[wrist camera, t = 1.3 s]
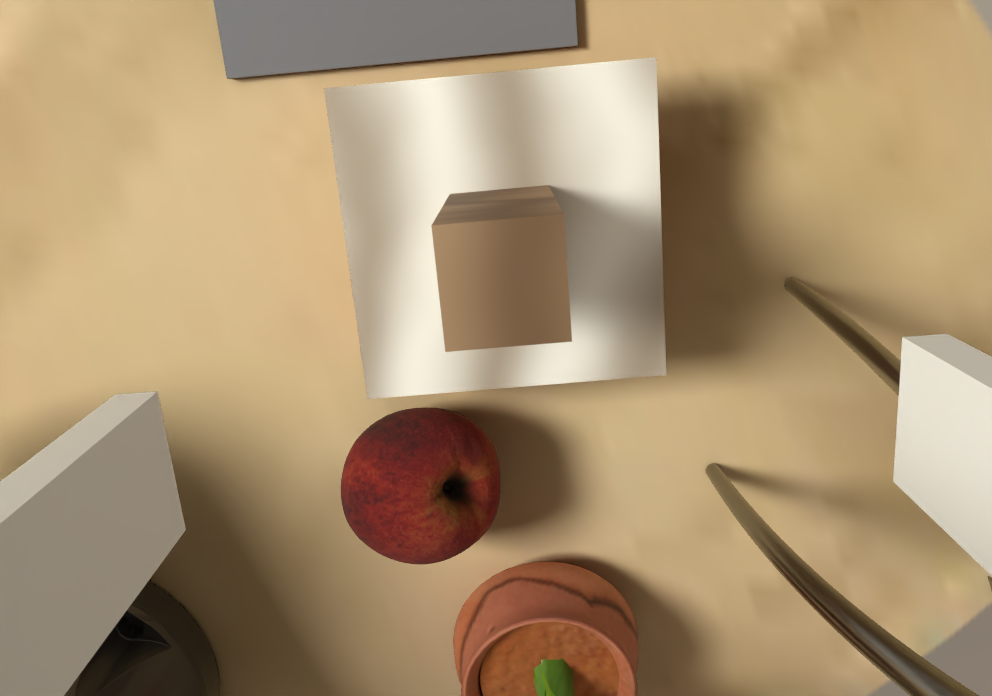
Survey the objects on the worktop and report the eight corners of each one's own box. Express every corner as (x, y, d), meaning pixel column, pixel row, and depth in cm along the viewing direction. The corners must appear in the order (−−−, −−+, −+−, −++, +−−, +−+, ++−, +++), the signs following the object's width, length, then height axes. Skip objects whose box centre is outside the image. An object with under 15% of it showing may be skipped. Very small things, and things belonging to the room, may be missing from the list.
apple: (513, 505, 44) (514, 589, 37) (371, 527, 45) (344, 615, 37) (488, 375, 42) (484, 436, 35) (340, 400, 43) (304, 465, 35)
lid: (375, 382, 38) (325, 492, 28) (335, 89, 35) (258, 83, 24) (657, 360, 38) (718, 461, 27) (646, 60, 34) (712, 40, 23)
